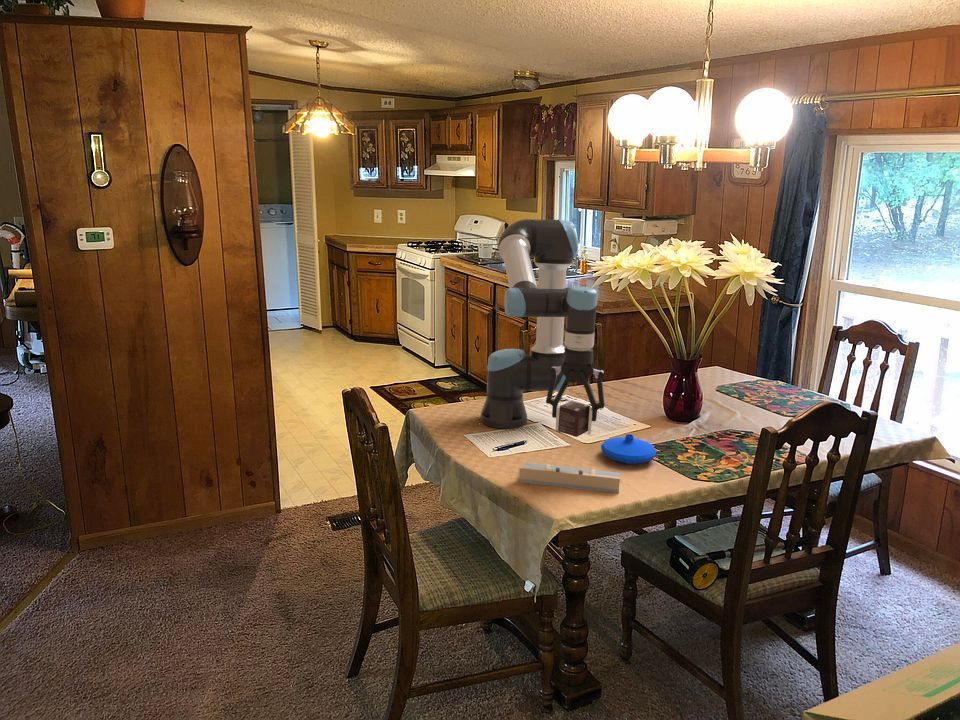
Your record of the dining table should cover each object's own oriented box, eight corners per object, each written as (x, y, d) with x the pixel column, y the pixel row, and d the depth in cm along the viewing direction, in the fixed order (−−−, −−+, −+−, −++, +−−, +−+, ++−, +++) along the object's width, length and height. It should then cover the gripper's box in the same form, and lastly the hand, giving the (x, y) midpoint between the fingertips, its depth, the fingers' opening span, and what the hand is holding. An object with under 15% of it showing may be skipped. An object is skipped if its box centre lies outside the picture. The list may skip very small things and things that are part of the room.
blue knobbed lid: (602, 467, 209) (604, 444, 208) (597, 446, 225) (599, 424, 223) (659, 470, 209) (662, 447, 207) (650, 449, 224) (652, 427, 222)
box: (569, 426, 204) (571, 400, 202) (589, 431, 200) (590, 405, 198) (557, 431, 199) (559, 405, 197) (576, 437, 195) (578, 410, 193)
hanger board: (524, 466, 208) (525, 450, 207) (619, 476, 204) (620, 459, 202) (518, 482, 198) (519, 465, 197) (618, 493, 193) (620, 476, 192)
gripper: (537, 347, 192) (532, 431, 198) (619, 354, 188) (612, 439, 194) (540, 341, 199) (536, 422, 205) (619, 347, 195) (613, 429, 201)
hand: (573, 430), depth 199 cm, fingers closed on box, 8 cm apart
